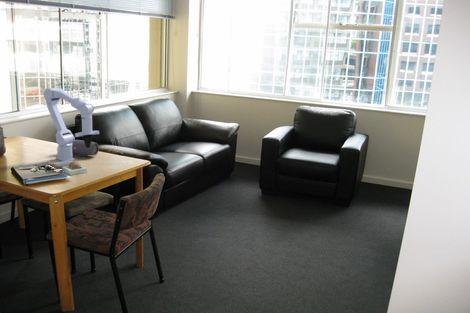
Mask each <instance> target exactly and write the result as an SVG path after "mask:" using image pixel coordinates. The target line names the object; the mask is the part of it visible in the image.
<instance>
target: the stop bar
mask: <svg viewBox="0 0 470 313" xmlns="http://www.w3.org/2000/svg"><path fill="white" fill-rule="evenodd" d="M54 163H55V162H51V161H49V162H47V163H46V165H47V164H48V165H50V166H52V167H54V168H56V169H60V166H58V165H56V164H54Z"/></svg>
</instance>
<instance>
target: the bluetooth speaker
mask: <svg viewBox="0 0 470 313" xmlns="http://www.w3.org/2000/svg"><path fill="white" fill-rule="evenodd" d="M99 149H100V147H99V144H98V142H94V141H91V144H90V148H87V147H86V145H85V142H84V140H83V139H75V141H74V142H73V145H72V154H73V156H75V157H85V158H86V157H88V156H89V157H91V156H97V155H98V153H99Z"/></svg>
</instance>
